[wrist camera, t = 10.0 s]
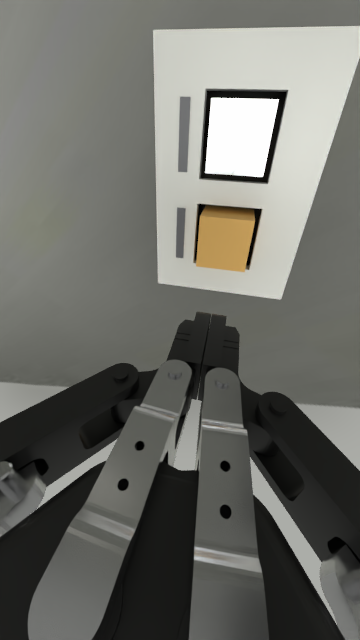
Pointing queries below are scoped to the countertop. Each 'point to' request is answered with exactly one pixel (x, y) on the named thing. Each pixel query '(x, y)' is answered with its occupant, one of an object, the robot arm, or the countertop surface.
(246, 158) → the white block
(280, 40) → the panel
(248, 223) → the tan cardboard-coloured cube
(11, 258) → the countertop surface
